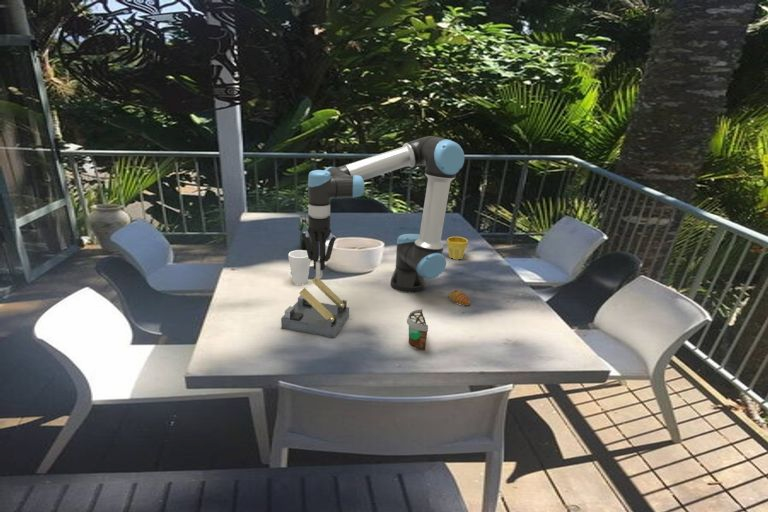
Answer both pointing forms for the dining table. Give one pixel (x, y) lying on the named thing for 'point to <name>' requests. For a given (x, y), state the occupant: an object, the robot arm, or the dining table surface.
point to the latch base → (314, 318)
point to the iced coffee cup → (417, 329)
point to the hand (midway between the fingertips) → (319, 277)
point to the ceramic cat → (303, 226)
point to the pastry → (459, 297)
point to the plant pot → (456, 247)
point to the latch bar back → (328, 292)
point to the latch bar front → (316, 304)
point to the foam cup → (299, 266)
